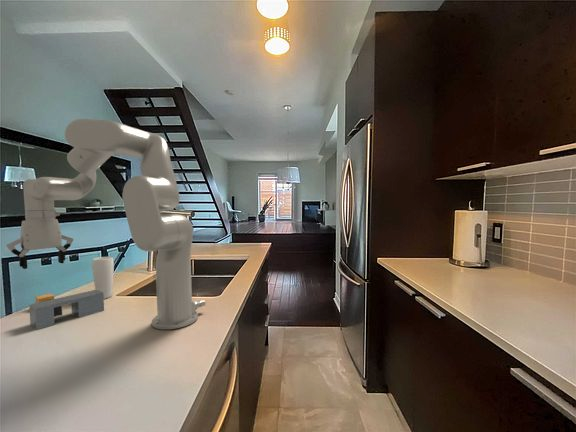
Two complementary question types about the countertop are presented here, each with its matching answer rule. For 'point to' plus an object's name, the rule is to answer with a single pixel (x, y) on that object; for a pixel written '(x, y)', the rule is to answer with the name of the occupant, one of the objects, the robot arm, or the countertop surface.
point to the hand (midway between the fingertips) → (43, 265)
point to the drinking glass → (103, 275)
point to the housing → (79, 302)
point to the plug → (45, 298)
